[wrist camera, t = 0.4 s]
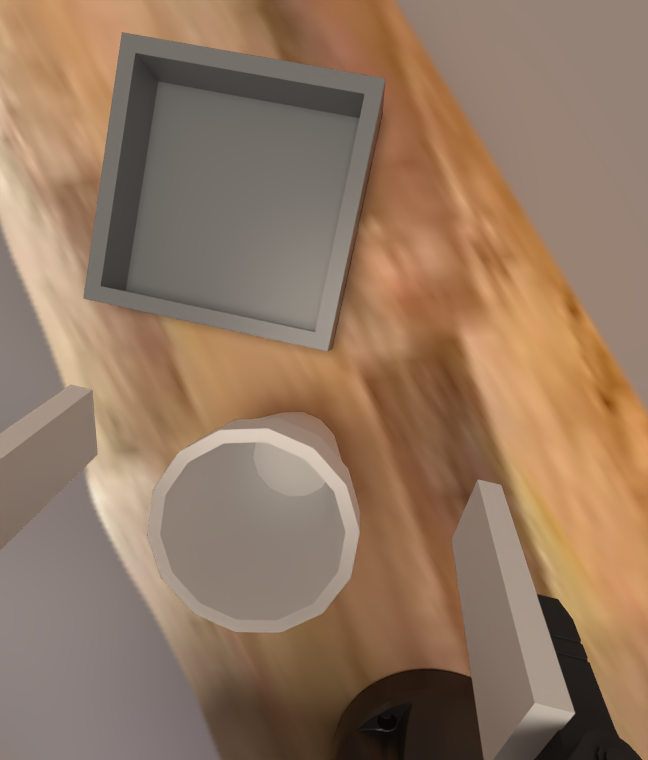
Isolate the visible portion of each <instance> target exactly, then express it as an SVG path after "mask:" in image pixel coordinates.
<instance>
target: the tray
mask: <svg viewBox="0 0 648 760" xmlns="http://www.w3.org/2000/svg"><path fill="white" fill-rule="evenodd" d="M385 80H386V79H385V78H379V77H373V76H368V75H362V74H356V73H351V72H345V71H339V70H333V69H328V68H322V67H316V66H311V65H305V64H299V63H294V62H288V61H282V60H277V59H271V58H265V57H259V56H254V55H248V54H242V53H237V52H231V51H225V50H220V49H214V48H208V47H203V46H197V45H191V44H185V43H180V42H174V41H168V40H163V39H157V38H151V37H146V36H140V35H134V34H129V33H123V32H122V36H121V43H120V50H119V57H118V63H117V70H116V77H115V84H114V91H113V98H112V105H111V112H110V119H109V126H108V133H107V139H106V146H105V153H104V160H103V167H102V174H101V181H100V188H99V195H98V202H97V208H96V215H95V222H94V229H93V236H92V243H91V250H90V257H89V264H88V271H87V278H86V284H85V291H84V298H83V299H88V300H93V301H97V302H102V303H107V304H111V305H116V306H120V307H125V308H130V309H134V310H139V311H143V312H148V313H153V314H157V315H162V316H166V317H171V318H176V319H180V320H185V321H190V322H194V323H199V324H203V325H208V326H213V327H217V328H222V329H226V330H231V331H236V332H240V333H245V334H249V335H254V336H259V337H263V338H268V339H272V340H277V341H282V342H286V343H291V344H296V345H300V346H305V347H309V348H314V349H319V350H323V351H330V350H332V347H333V342H334V338H335V333H336V328H337V323H338V319H339V314H340V309H341V305H342V300H343V295H344V291H345V286H346V281H347V277H348V272H349V267H350V263H351V258H352V253H353V249H354V244H355V239H356V235H357V230H358V225H359V221H360V216H361V211H362V207H363V202H364V197H365V193H366V188H367V183H368V179H369V174H370V169H371V164H372V160H373V155H374V150H375V146H376V141H377V136H378V132H379V127H380V122H381V118H382V113H383V102H384V91H385Z"/></svg>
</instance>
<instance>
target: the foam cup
mask: <svg viewBox="0 0 648 760" xmlns="http://www.w3.org/2000/svg"><path fill="white" fill-rule="evenodd" d="M359 533H360V508H359V505H358V501H357V498H356V494H355V491H354V487H353V484H352V480H351V477H350V473H349V470H348V468H347V467H346V466H345V465H344V463H343V462H342V460H341V456H340V453H339V450H338V446H337V443H336V439H335V436H334V434H333V433H332V432H331V430H330V429H329V428H328V427H327V426H326V425H325V424H324V422H323V421H322V420H321V419H319V418H316V417H314V416H312V415H309V414H307V413H305V412H283V413H278V414H274V415H270V416H266V417H261V418H257V419H239V420H234V421H232V422H230V423H228V424H226V425H224V426H223V427H221V428H219V429H217V430H215V431H213V432H211V433H210V434H208V435H206V436H204V437H202V438H200V439H198V440H197V441H195V442H194V443H192V444H191V445H189V446H187V447H186V448H184V449H183V450H181V451H180V452H178V454H177V455H176V457H175V458H174V460H173V461H172V463H171V464H170V466H169V467H168V468H167V470H166V471H165V473H164V474H163V476H162V477H161V479H160V480H159V482H158V483H157V484H156V486H155V487H154V489H153V494H152V501H151V509H150V516H149V524H148V531H147V536H148V539H149V542H150V545H151V548H152V551H153V554H154V557H155V560H156V564H157V567H158V570H159V573H160V576H161V578H162V580H163V581H164V582H165V583H166V584H167V585H168V586H169V587H170V588H171V590H172V591H173V592H174V593H175V594H176V595H177V596H178V597H179V598H180V600H181V601H182V602H183V603H184V604H185V605H186V606H187V607H188V608H189V610H190V611H191V612H192V613H194V614H196V615H198V616H201V617H203V618H205V619H207V620H209V621H212V622H214V623H216V624H218V625H220V626H222V627H225V628H227V629H229V630H231V631H233V632H265V633H282V632H284V631H286V630H288V629H290V628H292V627H295V626H297V625H299V624H301V623H303V622H305V621H308V620H310V619H312V618H314V617H316V616H318V615H321V614H323V612H324V611H325V610H326V609H327V607H328V606H329V605H330V604H331V602H332V601H333V600H334V599H335V597H336V596H337V595H338V593H339V592H340V591H341V590H342V588H343V587H344V586H345V585H346V583H347V582H348V581H349V580H350V578H351V575H352V570H353V564H354V559H355V554H356V549H357V544H358V538H359Z"/></svg>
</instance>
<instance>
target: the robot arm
mask: <svg viewBox="0 0 648 760" xmlns="http://www.w3.org/2000/svg"><path fill="white" fill-rule="evenodd" d="M96 455H97V441H96V429H95V416H94V403H93V391H92V389H87V388H83V387H79V386H74V385H70V386H68V387H67V388H65V389H64V390H63V391H61V392H60V393H58V394H57V395H55V396H54V397H52V398H51V399H50V400H48V401H47V402H45V403H44V404H42V405H41V406H39V407H38V408H37V409H35V410H34V411H32V412H31V413H29V414H28V415H26V416H25V417H23V418H22V419H21V420H19V421H18V422H16V423H15V424H13V425H12V426H10V427H9V428H7V429H6V430H5V431H3V432H2V433H0V550H1V549H2V548H3V547H4V546H5V545H6V544H7V543H8V542H9V541H10V540H11V539H12V538H13V537H14V536H15V535H16V534H17V533H18V532H19V531H20V530H21V529H22V528H23V527H24V526H25V525H26V524H27V523H28V522H29V521H30V520H31V519H32V518H33V517H35V515H37V514H38V512H40V511H41V510H42V509H43V508H44V507H45V506H46V505H47V504H48V503H49V502H50V501H51V500H52V499H53V498H54V497H55V496H56V495H57V494H58V493H59V492H60V491H61V490H62V489H63V488H64V487H65V486H66V485H67V484H68V483H69V482H70V481H71V480H72V479H73V478H74V477H75V476H76V475H77V474H78V473H79V472H80V471H81V470H82V469H83V468H84V467H85V466H86V465H87V464H88V463H89V462H90V461H91V460H92V459H93V458H94V457H95V456H96ZM452 547H453V553H454V560H455V567H456V574H457V581H458V588H459V594H460V601H461V608H462V615H463V622H464V629H465V635H466V642H467V649H468V656H469V663H470V669H471V676H472V679H470V678H467V677H464V676H461V675H458V674H454V673H449V672H443V671H434V670H421V671H411V672H405V673H401V674H397V675H394V676H391V677H388V678H386V679H383V680H381V681H379V682H377V683H375V684H374V685H372V686H371V687H369V688H368V689H366V690H365V691H364V692H362V693H361V694H360V695H359V696H358V697H357V698H356V699H355V700H354V701H353V702H352V703H351V705H350V706H349V707H348V708H347V710H346V711H345V713H344V715H343V716H342V718H341V720H340V722H339V725H338V727H337V730H336V733H335V737H334V742H333V751H332V760H642V759H641V758H640V756H639V755H638V754H637V753H636V752H635V751H634V750H633V749H632V748H631V747H630V746H629V744H627V743H626V742H625V741H623V740H622V739H620V738H619V736H618V734H617V732H616V730H615V728H614V725H613V722H612V720H611V717H610V715H609V712H608V710H607V707H606V704H605V702H604V699H603V697H602V694H601V691H600V689H599V686H598V684H597V681H596V678H595V676H594V673H593V671H592V668H591V665H590V663H589V662H588V661H587V655H586V652H585V650H584V647H583V645H582V644H581V643H580V642H581V639H580V637H579V634H578V632H577V629H576V626H575V624H574V621H573V619H572V618H571V616H570V615H569V614H568V612H567V611H566V610H565V608H564V607H563V606H562V604H561V603H560V601H559V600H558V599H555V598H551V597H546V596H542V595H538V594H536V591H535V588H534V585H533V582H532V579H531V576H530V572H529V569H528V566H527V563H526V560H525V557H524V554H523V551H522V548H521V545H520V542H519V538H518V535H517V532H516V529H515V526H514V523H513V520H512V517H511V514H510V511H509V508H508V505H507V501H506V498H505V495H504V492H503V489H502V486H501V485H499V484H495V483H491V482H486V481H482V480H477V482H476V484H475V487H474V489H473V491H472V494H471V496H470V498H469V500H468V503H467V505H466V507H465V510H464V512H463V514H462V517H461V519H460V521H459V523H458V526H457V528H456V530H455V533H454V535H453V537H452Z"/></svg>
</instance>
